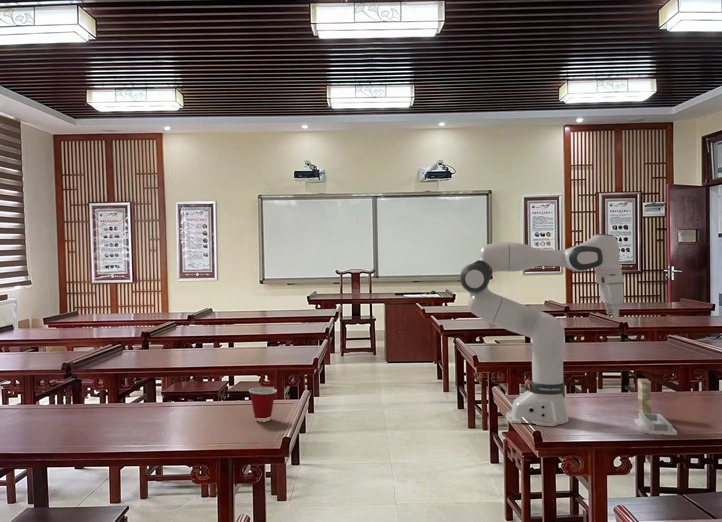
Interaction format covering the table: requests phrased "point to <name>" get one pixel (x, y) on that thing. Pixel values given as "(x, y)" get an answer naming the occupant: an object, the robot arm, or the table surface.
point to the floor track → (654, 424)
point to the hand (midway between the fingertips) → (612, 315)
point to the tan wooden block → (644, 396)
